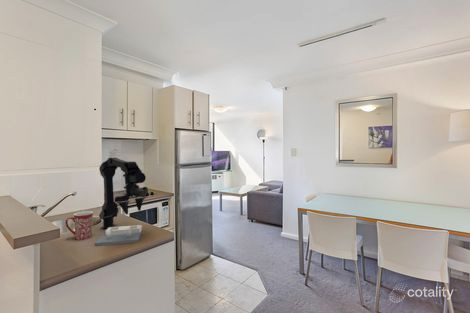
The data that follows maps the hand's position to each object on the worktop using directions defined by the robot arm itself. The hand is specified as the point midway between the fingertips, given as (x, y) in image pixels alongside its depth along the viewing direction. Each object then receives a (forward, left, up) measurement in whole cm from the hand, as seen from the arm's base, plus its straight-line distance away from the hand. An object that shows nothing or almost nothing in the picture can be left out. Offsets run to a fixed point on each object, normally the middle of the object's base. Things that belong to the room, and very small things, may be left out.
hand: (133, 212), depth 123 cm
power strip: (-9, -7, -14) cm, 18 cm away
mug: (-7, -29, -14) cm, 33 cm away
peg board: (+2, -7, -14) cm, 16 cm away
